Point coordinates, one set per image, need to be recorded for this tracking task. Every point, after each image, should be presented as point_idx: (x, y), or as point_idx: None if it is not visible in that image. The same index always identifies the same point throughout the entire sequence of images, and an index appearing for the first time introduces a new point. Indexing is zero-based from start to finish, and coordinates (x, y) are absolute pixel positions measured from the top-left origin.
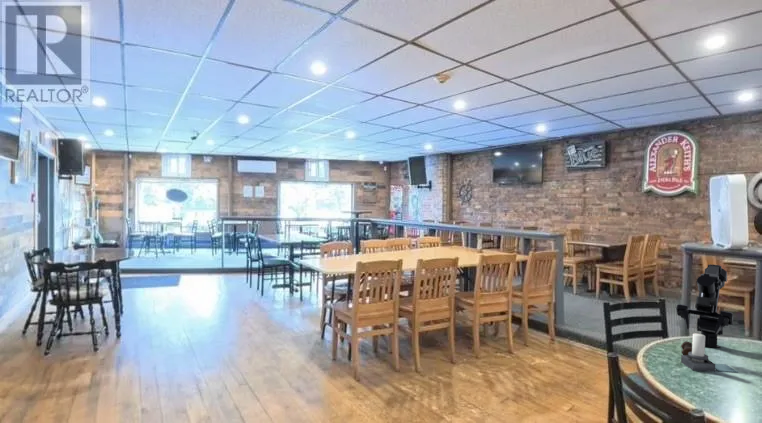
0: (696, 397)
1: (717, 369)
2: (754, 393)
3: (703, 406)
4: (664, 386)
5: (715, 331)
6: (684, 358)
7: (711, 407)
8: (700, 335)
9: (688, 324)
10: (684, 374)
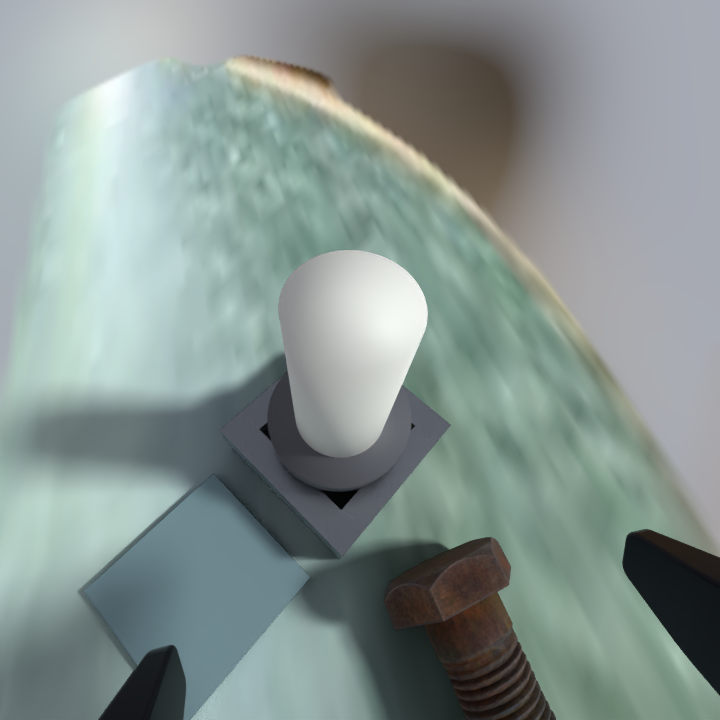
0: (238, 114)
1: (221, 489)
2: (26, 286)
3: (207, 79)
4: (344, 123)
5: (152, 677)
6: (413, 399)
7: (185, 85)
8: (335, 305)
9: (711, 579)
10: None
